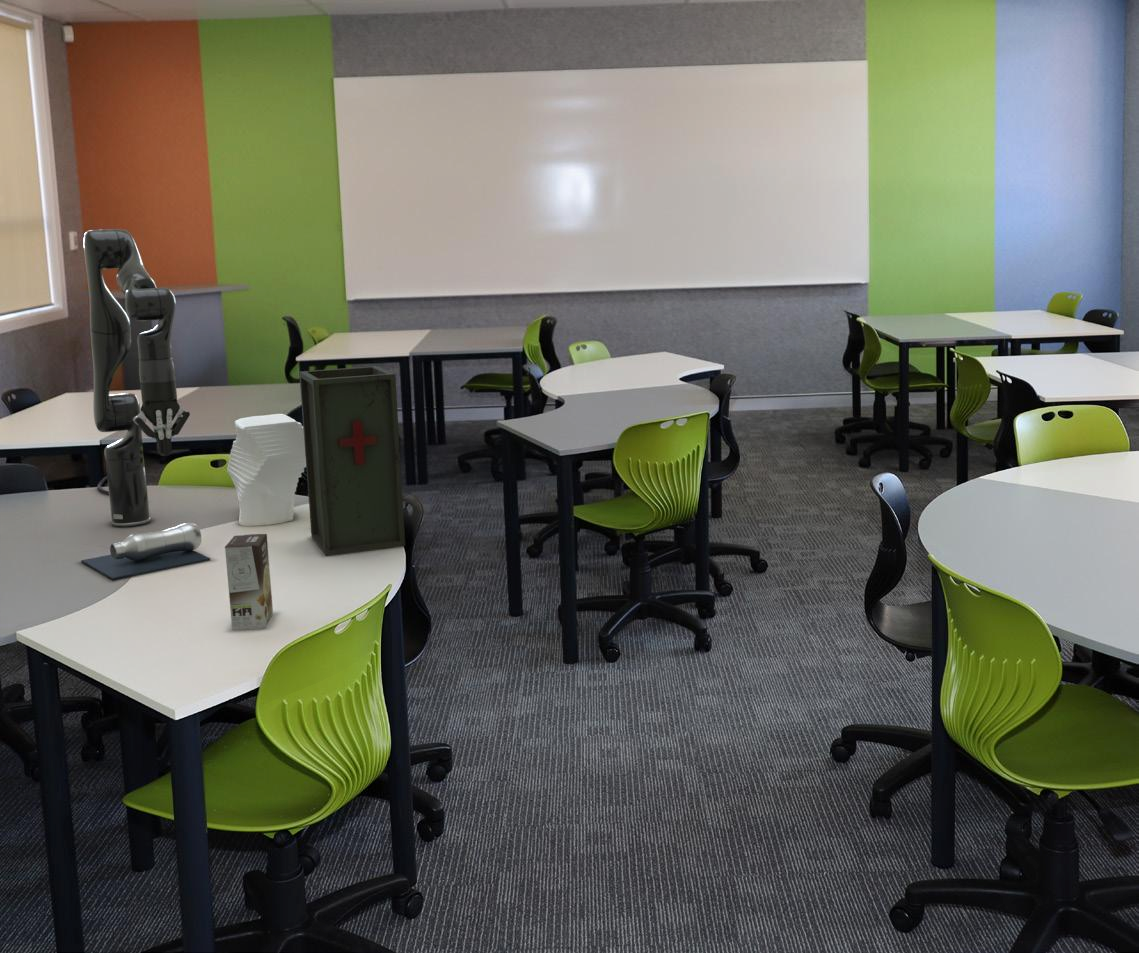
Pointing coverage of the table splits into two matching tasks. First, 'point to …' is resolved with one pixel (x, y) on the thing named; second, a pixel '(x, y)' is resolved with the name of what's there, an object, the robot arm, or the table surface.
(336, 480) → the first aid box
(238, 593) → the coffee box
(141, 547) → the silver bottle
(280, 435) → the paper stack
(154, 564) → the rubber mat
